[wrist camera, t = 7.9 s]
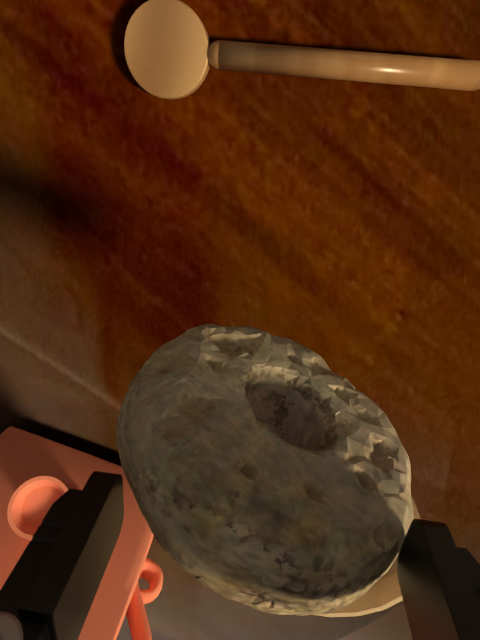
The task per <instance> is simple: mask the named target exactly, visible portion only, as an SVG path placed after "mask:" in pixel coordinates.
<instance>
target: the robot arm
mask: <svg viewBox="0 0 480 640" xmlns="http://www.w3.org/2000/svg"><path fill="white" fill-rule="evenodd" d="M123 518H124V498H123V478H122V475H121V474H114V473H107V472H100V471H94V472H93V473H92V474H91V475H90V477H89V479H88V481H87V482H86V484H85V486H84V488H83V490H77V489H69V490H68V491H67V492H65V493H64V494H63V495H62V496H61V497H60V498H59V499H57V500H56V501H55V502H54V503H53V504H52V506H51V507H50V509H49V511H48V512H47V514H46V516H45V517H44V519H43V521H42V524H41V526H39V527H38V529H37V531H36V532H35V534H34V535H33V537H32V541H30V542H29V544H28V545H27V547H26V549H25V550H24V552H23V554H22V555H21V557H20V559H19V560H18V562H17V564H16V565H15V567H14V568H13V570H12V572H11V573H10V575H9V577H8V578H7V580H6V582H5V583H4V585H3V587H2V588H1V590H0V640H78V638H79V635H80V633H81V630H82V628H83V625H84V623H85V620H86V618H87V615H88V613H89V610H90V608H91V605H92V603H93V600H94V598H95V595H96V593H97V590H98V588H99V585H100V583H101V580H102V578H103V575H104V573H105V570H106V568H107V565H108V563H109V560H110V558H111V555H112V552H113V550H114V547H115V545H116V542H117V540H118V537H119V535H120V532H121V528H122V524H123ZM397 575H398V581H399V585H400V589H401V593H402V597H403V601H404V605H405V610H406V614H407V617H408V622H409V626H410V629H411V634H412V638H413V640H480V564H479V563H478V562H477V561H476V560H475V558H474V557H473V556H472V555H471V553H470V552H469V551H468V550H467V549H466V548H459V547H456V545H455V543H454V540H453V538H452V535H451V533H450V531H449V528H448V527H447V525H446V524H444V523H441V522H435V521H428V520H421V519H413V520H412V522H411V524H410V527H409V529H408V532H407V534H406V537H405V539H404V542H403V544H402V546H401V549H400V551H399V554H398V559H397Z"/></svg>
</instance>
